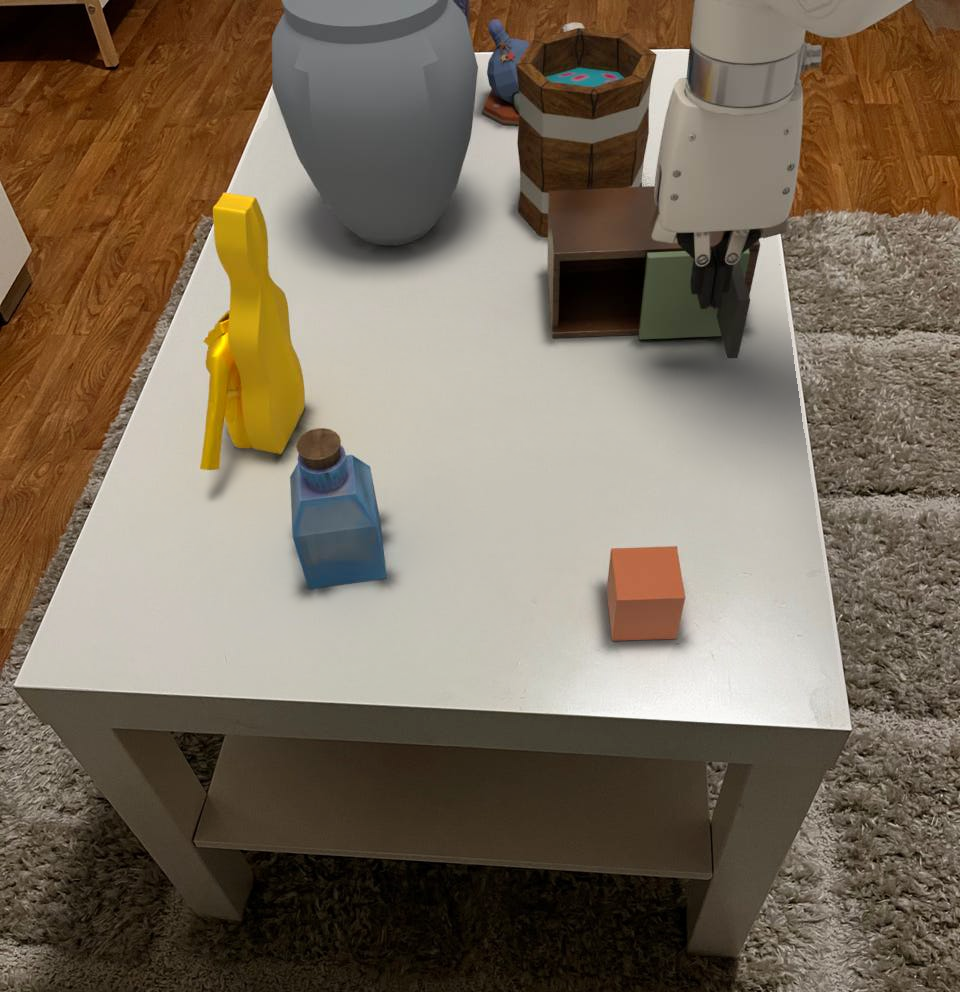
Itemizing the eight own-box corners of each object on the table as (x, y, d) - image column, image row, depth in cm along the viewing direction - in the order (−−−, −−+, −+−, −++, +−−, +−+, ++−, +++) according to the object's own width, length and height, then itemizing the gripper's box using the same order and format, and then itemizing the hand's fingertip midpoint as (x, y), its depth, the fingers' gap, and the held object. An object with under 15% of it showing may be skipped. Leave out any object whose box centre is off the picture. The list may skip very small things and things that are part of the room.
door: (731, 330, 92) (748, 247, 84) (743, 377, 88) (762, 295, 81) (638, 334, 92) (647, 252, 85) (646, 381, 88) (656, 300, 81)
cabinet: (726, 267, 98) (741, 181, 90) (742, 330, 92) (760, 244, 85) (547, 275, 98) (548, 190, 91) (552, 338, 92) (554, 253, 85)
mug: (652, 238, 101) (668, 89, 89) (522, 248, 101) (521, 99, 89) (625, 141, 112) (636, -4, 100) (509, 149, 112) (506, 6, 100)
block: (669, 588, 75) (676, 545, 71) (676, 639, 72) (685, 597, 68) (606, 590, 75) (610, 548, 71) (612, 641, 72) (616, 600, 68)
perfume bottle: (380, 520, 80) (359, 408, 70) (386, 578, 76) (365, 468, 67) (305, 530, 80) (273, 419, 70) (308, 589, 76) (275, 480, 66)
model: (476, 122, 116) (472, 39, 109) (493, 85, 121) (491, 3, 114) (575, 130, 114) (578, 45, 107) (588, 91, 119) (592, 8, 112)
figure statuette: (266, 362, 92) (202, 129, 74) (344, 372, 91) (298, 138, 73) (192, 496, 83) (97, 265, 65) (278, 509, 81) (206, 278, 63)
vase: (295, 285, 99) (236, 24, 79) (311, 181, 110) (263, -70, 90) (486, 276, 99) (474, 11, 79) (482, 172, 110) (472, -82, 90)
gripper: (839, 37, 69) (788, 268, 84) (628, 51, 70) (615, 278, 85) (864, 87, 65) (806, 321, 80) (639, 101, 65) (623, 331, 80)
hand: (707, 298), depth 82 cm, fingers closed
